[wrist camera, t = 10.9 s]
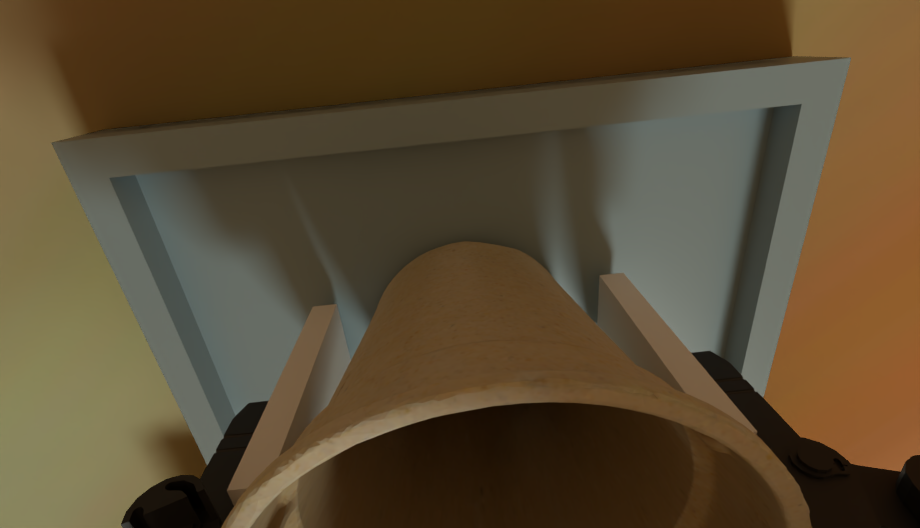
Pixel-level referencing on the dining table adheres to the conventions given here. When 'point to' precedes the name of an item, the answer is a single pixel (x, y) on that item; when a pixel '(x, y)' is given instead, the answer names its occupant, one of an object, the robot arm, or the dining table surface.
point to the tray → (461, 210)
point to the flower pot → (511, 422)
